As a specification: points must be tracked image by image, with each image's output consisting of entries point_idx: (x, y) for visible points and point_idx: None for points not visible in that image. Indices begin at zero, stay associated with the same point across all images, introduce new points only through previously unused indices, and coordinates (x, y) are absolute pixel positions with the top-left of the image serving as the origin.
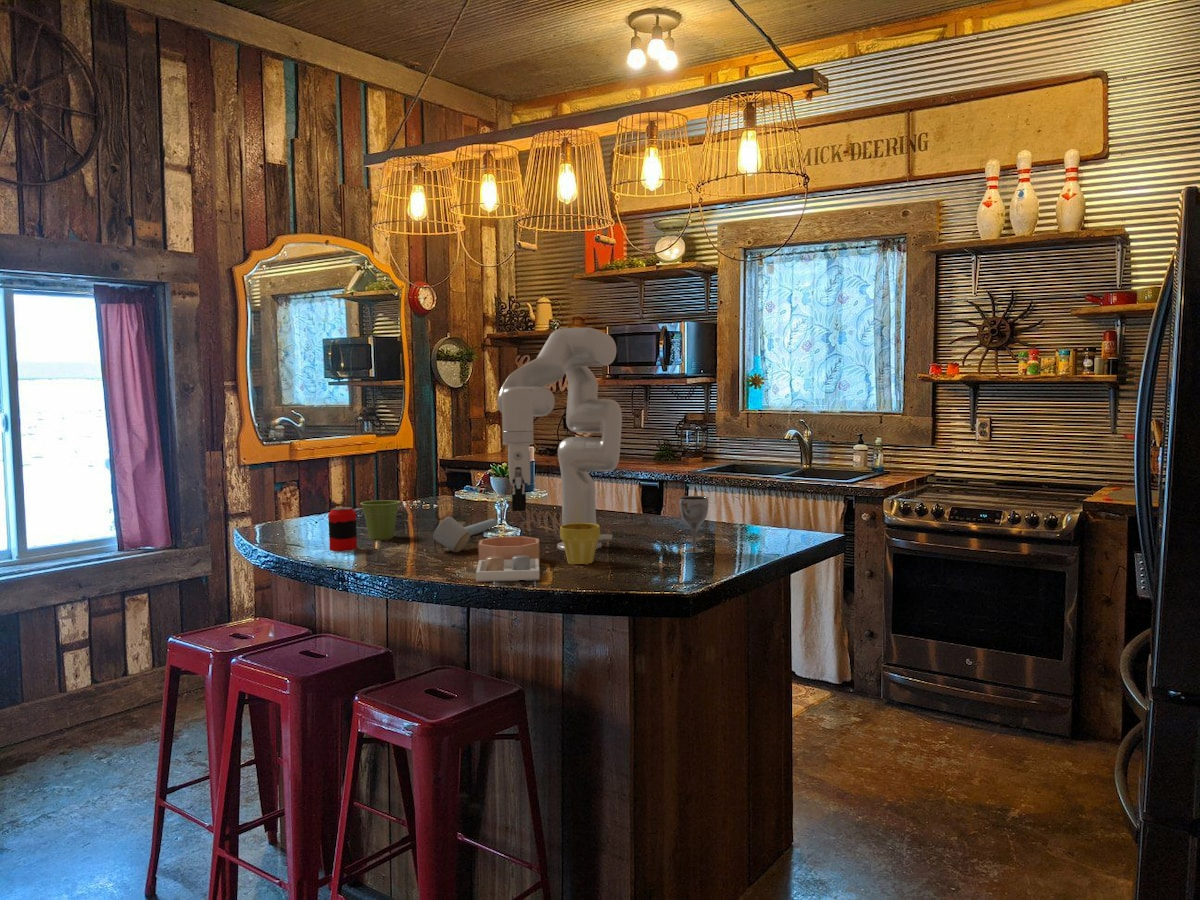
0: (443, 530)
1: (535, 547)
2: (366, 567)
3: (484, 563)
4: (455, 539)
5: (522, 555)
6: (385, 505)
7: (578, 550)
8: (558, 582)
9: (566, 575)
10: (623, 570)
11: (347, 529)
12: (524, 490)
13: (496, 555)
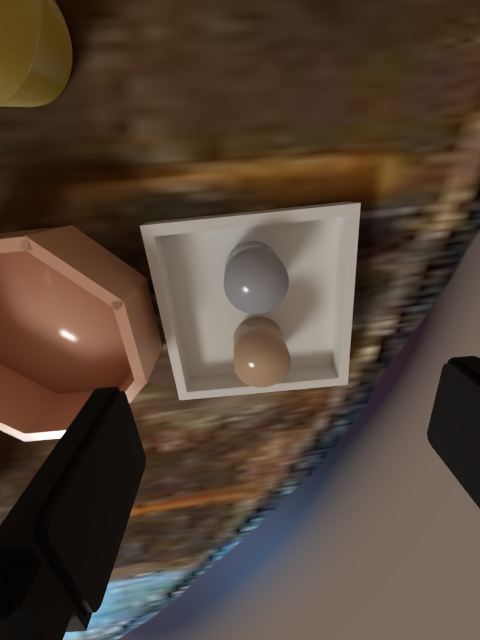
0: None
1: (57, 247)
2: (167, 559)
3: (187, 381)
4: None
5: (232, 281)
6: None
7: (48, 12)
8: (383, 128)
9: (271, 101)
10: None
11: None
12: (50, 534)
13: (153, 365)
